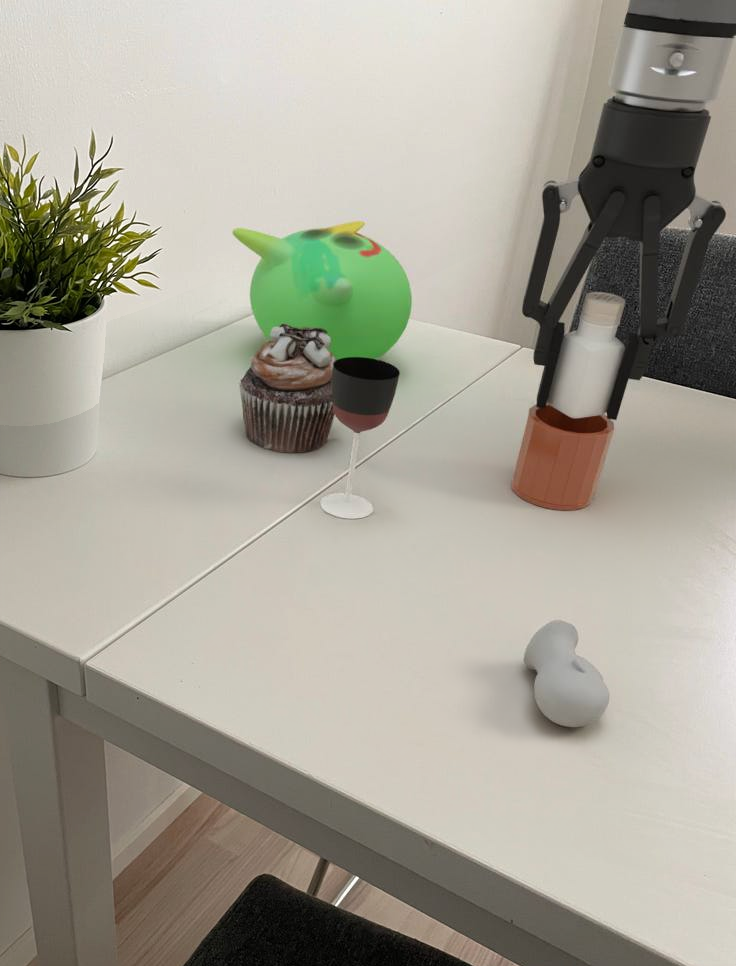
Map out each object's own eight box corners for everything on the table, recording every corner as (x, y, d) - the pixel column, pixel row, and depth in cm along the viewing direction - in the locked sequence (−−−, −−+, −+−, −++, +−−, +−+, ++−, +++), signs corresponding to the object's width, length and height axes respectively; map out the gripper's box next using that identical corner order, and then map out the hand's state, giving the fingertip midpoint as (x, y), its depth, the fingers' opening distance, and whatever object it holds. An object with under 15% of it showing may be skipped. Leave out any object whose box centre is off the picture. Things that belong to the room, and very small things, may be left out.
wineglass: (324, 487, 87) (342, 352, 80) (383, 500, 86) (405, 365, 79) (308, 510, 83) (325, 371, 76) (369, 525, 82) (392, 384, 75)
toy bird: (427, 368, 113) (452, 232, 104) (337, 404, 102) (356, 256, 94) (304, 325, 122) (318, 197, 114) (209, 354, 111) (217, 215, 103)
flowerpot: (591, 481, 92) (612, 409, 88) (592, 516, 86) (616, 441, 82) (512, 467, 93) (530, 396, 89) (509, 501, 87) (527, 426, 83)
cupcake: (232, 413, 98) (239, 311, 93) (328, 416, 100) (341, 316, 94) (239, 455, 91) (247, 347, 85) (344, 458, 92) (359, 352, 86)
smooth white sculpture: (594, 756, 62) (522, 727, 61) (575, 676, 69) (509, 650, 68) (635, 709, 60) (560, 678, 59) (612, 631, 66) (543, 602, 65)
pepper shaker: (577, 398, 87) (607, 288, 82) (609, 416, 85) (642, 303, 79) (541, 403, 86) (569, 291, 80) (572, 422, 83) (603, 307, 77)
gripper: (529, 93, 70) (465, 406, 84) (802, 123, 67) (690, 443, 81) (532, 81, 76) (472, 376, 90) (783, 109, 73) (682, 409, 87)
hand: (575, 407), depth 85 cm, fingers closed on pepper shaker, 5 cm apart
